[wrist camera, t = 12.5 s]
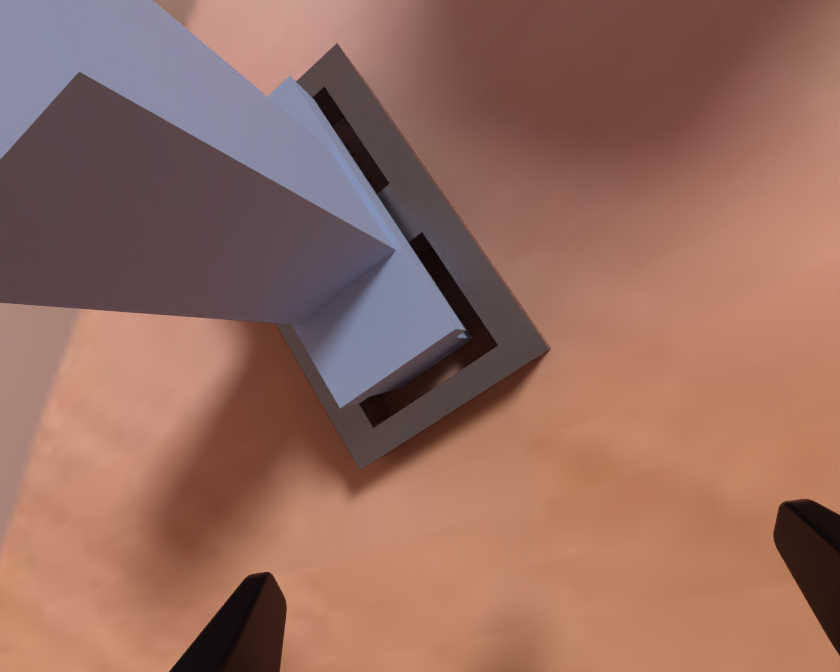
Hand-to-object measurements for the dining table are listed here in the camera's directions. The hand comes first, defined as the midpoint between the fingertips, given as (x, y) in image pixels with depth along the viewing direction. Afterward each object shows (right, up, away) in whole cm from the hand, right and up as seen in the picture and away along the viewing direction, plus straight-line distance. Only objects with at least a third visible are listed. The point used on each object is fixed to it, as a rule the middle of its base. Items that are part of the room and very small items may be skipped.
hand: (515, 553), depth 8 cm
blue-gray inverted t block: (-4, +7, +11) cm, 13 cm away
